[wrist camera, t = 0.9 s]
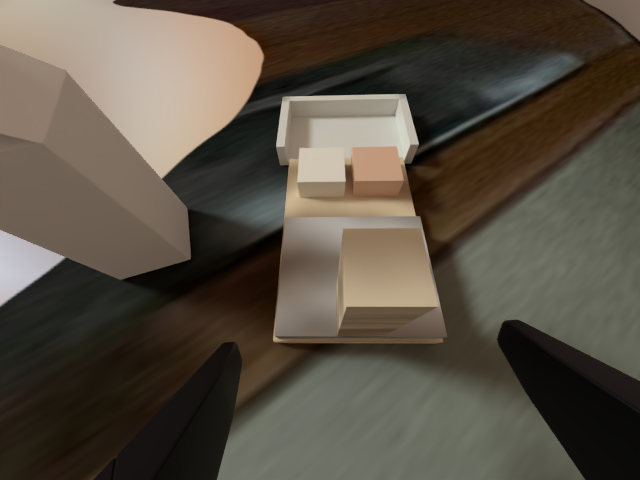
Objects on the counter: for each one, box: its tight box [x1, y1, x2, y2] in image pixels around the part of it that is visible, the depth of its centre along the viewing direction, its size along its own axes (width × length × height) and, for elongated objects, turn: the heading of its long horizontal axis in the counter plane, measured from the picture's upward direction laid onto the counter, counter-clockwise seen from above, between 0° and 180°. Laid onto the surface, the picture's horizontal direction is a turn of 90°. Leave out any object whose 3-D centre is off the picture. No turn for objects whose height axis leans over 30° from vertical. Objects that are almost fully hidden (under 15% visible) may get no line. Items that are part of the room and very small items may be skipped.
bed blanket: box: [275, 216, 447, 340], centre depth 17 cm, size 11×13×12 cm
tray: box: [276, 94, 419, 165], centre depth 32 cm, size 10×17×3 cm, turn 90°
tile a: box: [297, 147, 346, 197], centre depth 27 cm, size 5×5×2 cm
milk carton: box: [0, 45, 191, 280], centre depth 18 cm, size 7×7×19 cm
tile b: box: [350, 146, 404, 196], centre depth 27 cm, size 5×5×2 cm
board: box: [273, 157, 443, 344], centre depth 25 cm, size 21×14×2 cm, turn 0°
